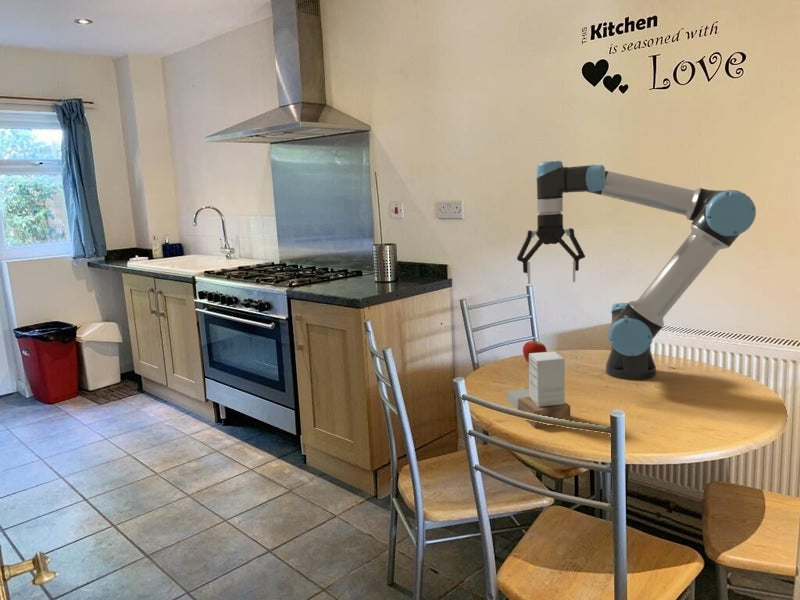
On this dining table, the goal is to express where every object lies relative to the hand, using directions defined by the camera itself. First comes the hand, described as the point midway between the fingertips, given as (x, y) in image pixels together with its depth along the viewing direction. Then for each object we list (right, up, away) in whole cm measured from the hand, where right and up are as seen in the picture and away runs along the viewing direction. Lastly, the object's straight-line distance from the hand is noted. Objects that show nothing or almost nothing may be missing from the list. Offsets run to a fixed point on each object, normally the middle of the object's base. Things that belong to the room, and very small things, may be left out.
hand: (550, 282), depth 177 cm
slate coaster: (-10, -36, -13) cm, 39 cm away
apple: (+1, -28, +23) cm, 37 cm away
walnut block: (-8, -37, -25) cm, 46 cm away
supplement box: (-8, -33, -26) cm, 42 cm away
